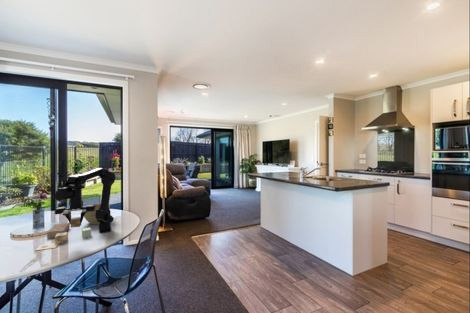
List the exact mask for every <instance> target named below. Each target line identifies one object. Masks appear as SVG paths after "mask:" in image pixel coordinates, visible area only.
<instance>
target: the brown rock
mask: <svg viewBox="0 0 470 313" xmlns="http://www.w3.org/2000/svg"><path fill="white" fill-rule="evenodd" d="M70 228H71V225H70V223H69V222H63V223H62V222H60V223H54V224H53V226H52V227H51V228H50V229H49V230H48V231H47V233H46V234H47V237H46V238H47V239H55V236H56V235H57V233H65V232H68V231H69V230H70Z"/></svg>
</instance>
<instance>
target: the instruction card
mask: <svg viewBox="0 0 470 313" xmlns="http://www.w3.org/2000/svg"><path fill="white" fill-rule="evenodd" d="M58 245H60V243H55V242H54V243H48V244H47V243H45V244H40V245H39V246H38V247H37V248H36V249H35V250H34V251H35V252H37V251H42V250H52V249H56V248H58Z"/></svg>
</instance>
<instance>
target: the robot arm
mask: <svg viewBox="0 0 470 313" xmlns="http://www.w3.org/2000/svg"><path fill="white" fill-rule="evenodd" d="M95 177H98V178H100V182H101V184H102V191H101V198H100V203H99V204H100V208H99V209H98V210H96V214H95V216H96V219H97V222H100V223H99V224H98V232H99V233H101V234H102V233H107V232H111V230H112V222H114V216H112V215H111V208H110V209H109V205H110V198H111V191H112V186H113V184H114V183H115V182H116V174H115V173H114V172H111V171H109V170H107V169H105V168H103V167H97V168H95V169H92V170H90V171H87V172H84V173H80V174H73V175H69V176H68V177H67V180H66V181H65V182H64V184H63V186H62V187H58V188H57V190H56V191H55V193H54V195H53V196H54V198H55V200H56V201H58V202H61V201H62V202H63V201H65V200H69V201H68V205H69V207H66V206H61V207H60V206H58V207H57V208H55V209H54V215H62V216H64V217H65V218H66V219H67V221H68V223H70V226H71V221H70V220H71V219H72V212H77V211H78V212H79V211H81V212H80V217H81V218H80V224H81V225H82V222H83V220H84V215H85V213H87V212H88V211H94V210H95V204H87V205H86V207H85V206H84V200H83V199H82V198H83V197H82V195H83V194H82V192H83V190H82V189H86V187H85V186H84V184H85V183H86V182H87V181H89V180H92V179H94V178H95Z"/></svg>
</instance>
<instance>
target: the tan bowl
mask: <svg viewBox="0 0 470 313" xmlns="http://www.w3.org/2000/svg"><path fill="white" fill-rule="evenodd" d="M100 204H101V203H96V204H94V205H95V210H94V211H88V212H87V213H85V215H84V217H83V219H85V221H86V222H87V223H89V224H90V225H99V224H100V222H97V219H96V216H95V214H96V210H98V209H99V208H100ZM86 206H87V205H86ZM86 206H84V207H86ZM109 209H110V210H111V205H110V204H109Z"/></svg>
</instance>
